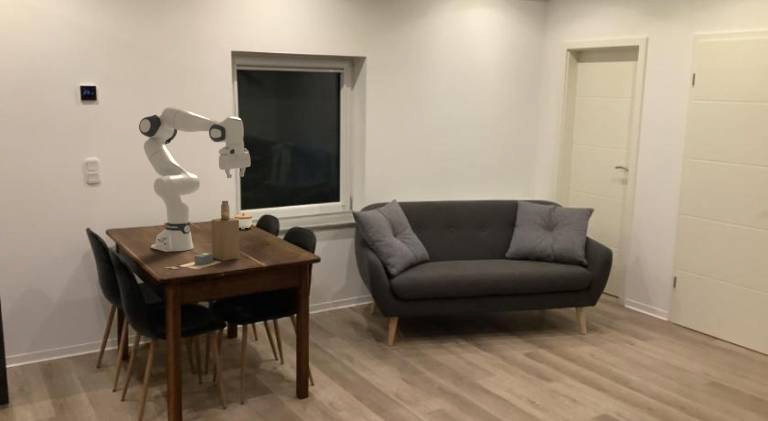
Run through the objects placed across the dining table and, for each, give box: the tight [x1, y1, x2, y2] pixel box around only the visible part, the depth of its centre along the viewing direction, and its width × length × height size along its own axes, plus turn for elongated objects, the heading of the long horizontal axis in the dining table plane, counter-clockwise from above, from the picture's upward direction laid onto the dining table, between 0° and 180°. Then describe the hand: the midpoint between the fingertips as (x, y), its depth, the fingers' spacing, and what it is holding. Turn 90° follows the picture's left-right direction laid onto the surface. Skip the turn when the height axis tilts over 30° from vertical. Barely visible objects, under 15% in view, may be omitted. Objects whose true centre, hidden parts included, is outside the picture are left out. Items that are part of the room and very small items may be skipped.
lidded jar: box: [233, 212, 253, 230], centre depth 406 cm, size 11×11×9 cm
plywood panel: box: [179, 260, 222, 270], centre depth 315 cm, size 12×16×1 cm
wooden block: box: [210, 217, 241, 261], centre depth 328 cm, size 10×10×20 cm
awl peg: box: [220, 200, 231, 220], centre depth 326 cm, size 4×4×9 cm
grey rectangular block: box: [193, 252, 214, 265], centre depth 317 cm, size 5×7×4 cm
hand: (235, 177), depth 336 cm, fingers open, 8 cm apart
